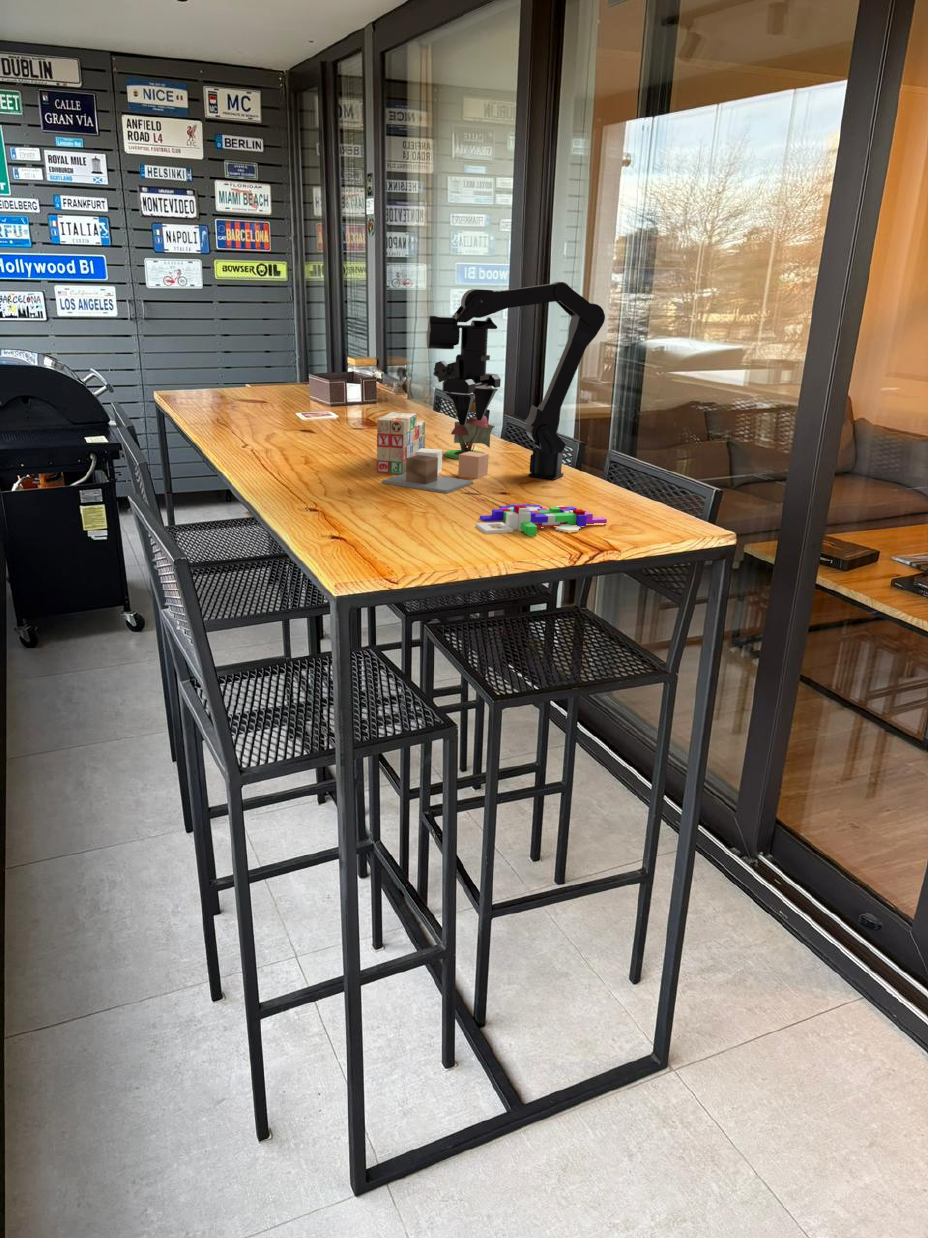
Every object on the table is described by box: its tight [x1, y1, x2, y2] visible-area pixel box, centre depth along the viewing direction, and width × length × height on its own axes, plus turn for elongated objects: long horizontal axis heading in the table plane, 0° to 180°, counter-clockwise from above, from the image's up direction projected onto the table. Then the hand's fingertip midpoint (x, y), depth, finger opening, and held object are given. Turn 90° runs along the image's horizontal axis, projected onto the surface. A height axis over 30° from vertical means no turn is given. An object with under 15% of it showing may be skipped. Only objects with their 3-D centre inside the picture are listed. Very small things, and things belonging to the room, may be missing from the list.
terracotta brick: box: [457, 451, 490, 480], centre depth 206 cm, size 5×5×5 cm
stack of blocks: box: [376, 411, 426, 475], centre depth 213 cm, size 21×6×12 cm, turn 169°
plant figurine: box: [444, 396, 495, 460], centre depth 227 cm, size 12×13×15 cm
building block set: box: [475, 503, 608, 536], centre depth 170 cm, size 25×20×4 cm
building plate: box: [381, 472, 474, 494], centre depth 197 cm, size 16×12×1 cm
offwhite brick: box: [416, 447, 443, 475], centre depth 208 cm, size 5×5×5 cm
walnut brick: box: [405, 455, 438, 484], centre depth 195 cm, size 5×5×5 cm
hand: (470, 422), depth 202 cm, fingers open, 9 cm apart
